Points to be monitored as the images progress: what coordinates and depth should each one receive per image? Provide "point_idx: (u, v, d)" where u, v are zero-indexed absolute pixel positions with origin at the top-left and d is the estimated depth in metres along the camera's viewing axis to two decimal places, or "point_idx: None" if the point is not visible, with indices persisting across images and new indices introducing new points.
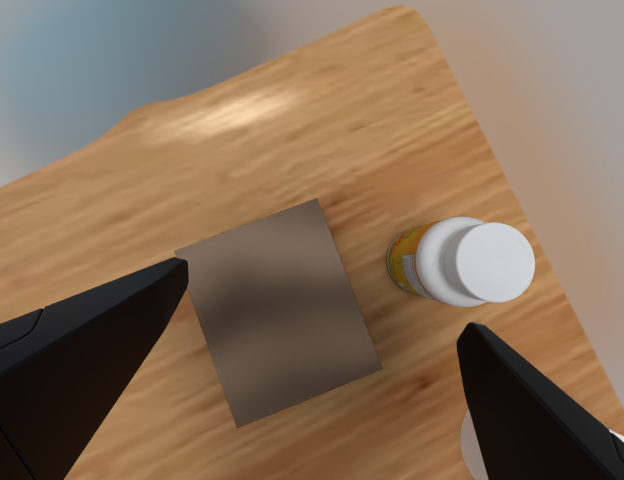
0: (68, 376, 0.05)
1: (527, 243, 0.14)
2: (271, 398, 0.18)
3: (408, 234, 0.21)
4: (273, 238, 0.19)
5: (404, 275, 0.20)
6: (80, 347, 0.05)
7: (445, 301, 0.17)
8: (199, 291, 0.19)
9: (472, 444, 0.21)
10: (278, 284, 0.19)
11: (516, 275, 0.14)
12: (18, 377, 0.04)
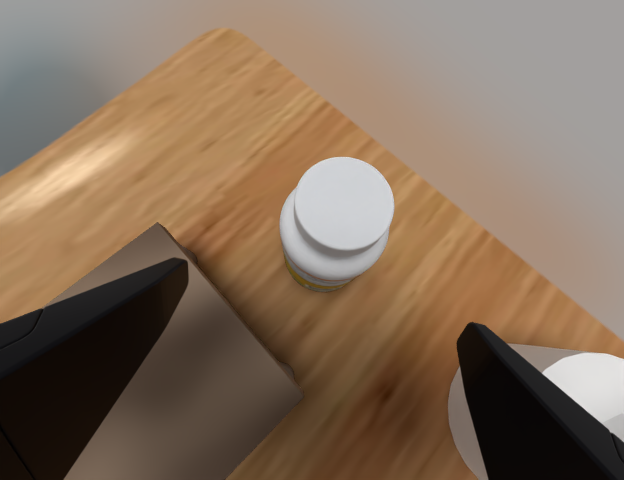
0: (68, 376, 0.05)
1: (371, 167, 0.12)
2: None
3: None
4: None
5: (294, 271, 0.16)
6: (80, 347, 0.05)
7: (330, 277, 0.13)
8: None
9: (467, 445, 0.16)
10: None
11: (374, 207, 0.11)
12: (18, 377, 0.04)
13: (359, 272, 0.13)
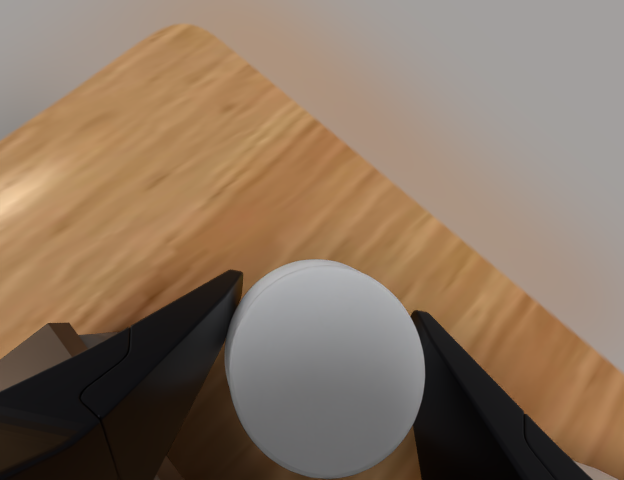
0: (159, 396, 0.05)
1: (380, 289, 0.06)
2: None
3: None
4: None
5: None
6: (169, 366, 0.05)
7: None
8: None
9: None
10: None
11: (386, 375, 0.06)
12: (128, 401, 0.04)
13: None
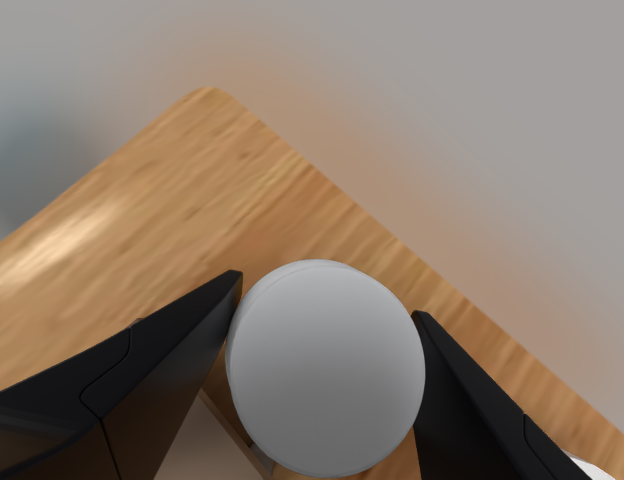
0: (159, 396, 0.05)
1: (380, 289, 0.06)
2: None
3: None
4: None
5: None
6: (169, 366, 0.05)
7: None
8: None
9: None
10: None
11: (386, 375, 0.06)
12: (128, 401, 0.04)
13: None
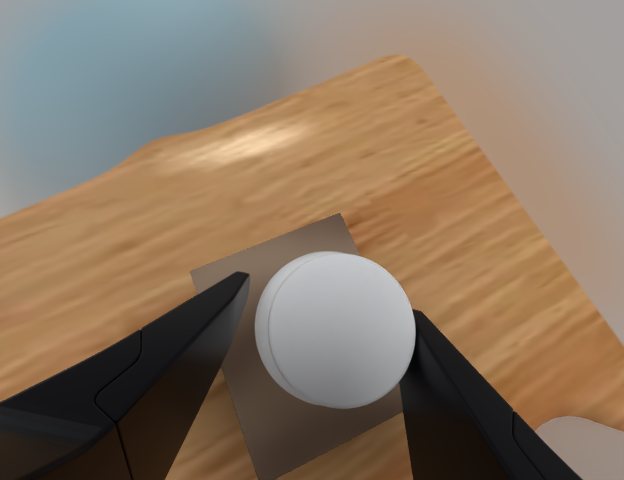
0: (170, 398, 0.05)
1: (384, 273, 0.08)
2: (301, 443, 0.15)
3: None
4: (296, 254, 0.18)
5: None
6: (181, 369, 0.05)
7: (319, 404, 0.09)
8: None
9: None
10: None
11: (386, 338, 0.07)
12: (142, 404, 0.04)
13: None
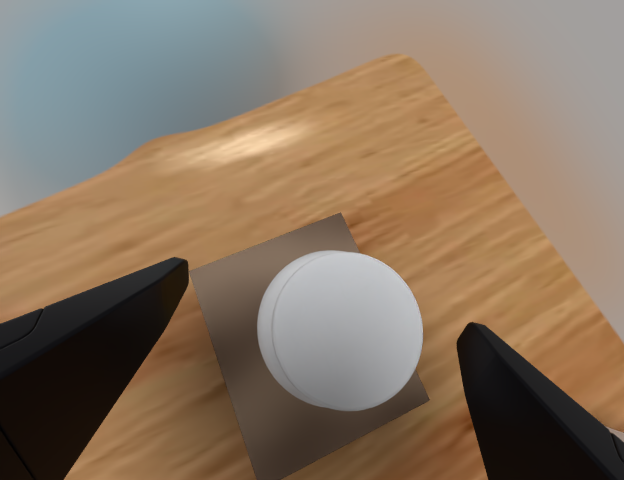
0: (68, 376, 0.05)
1: (391, 272, 0.08)
2: (301, 445, 0.15)
3: None
4: (296, 254, 0.18)
5: None
6: (80, 347, 0.05)
7: (323, 406, 0.09)
8: (216, 315, 0.16)
9: None
10: None
11: (392, 338, 0.07)
12: (18, 377, 0.04)
13: None
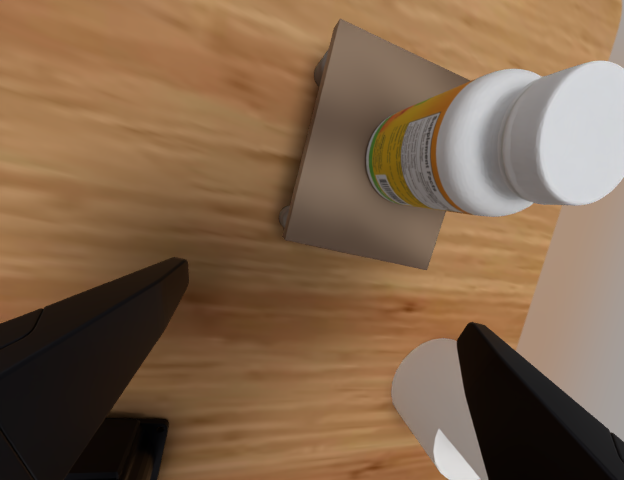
0: (68, 376, 0.05)
1: None
2: (331, 234, 0.17)
3: (423, 101, 0.14)
4: (429, 91, 0.17)
5: (400, 154, 0.13)
6: (80, 347, 0.05)
7: (460, 195, 0.11)
8: (336, 83, 0.15)
9: (417, 366, 0.25)
10: None
11: (605, 170, 0.09)
12: (18, 377, 0.04)
13: (483, 213, 0.11)
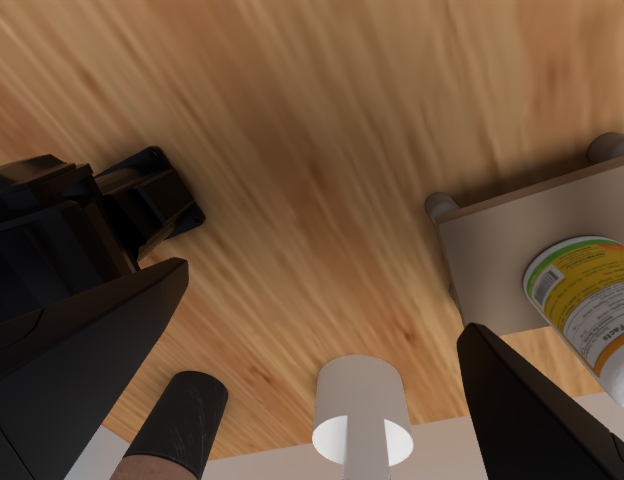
0: (68, 376, 0.05)
1: None
2: (463, 256, 0.17)
3: None
4: None
5: (607, 285, 0.13)
6: (80, 347, 0.05)
7: None
8: None
9: (368, 369, 0.27)
10: None
11: None
12: (18, 377, 0.04)
13: (613, 389, 0.12)
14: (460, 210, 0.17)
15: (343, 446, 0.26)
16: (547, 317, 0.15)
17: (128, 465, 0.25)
